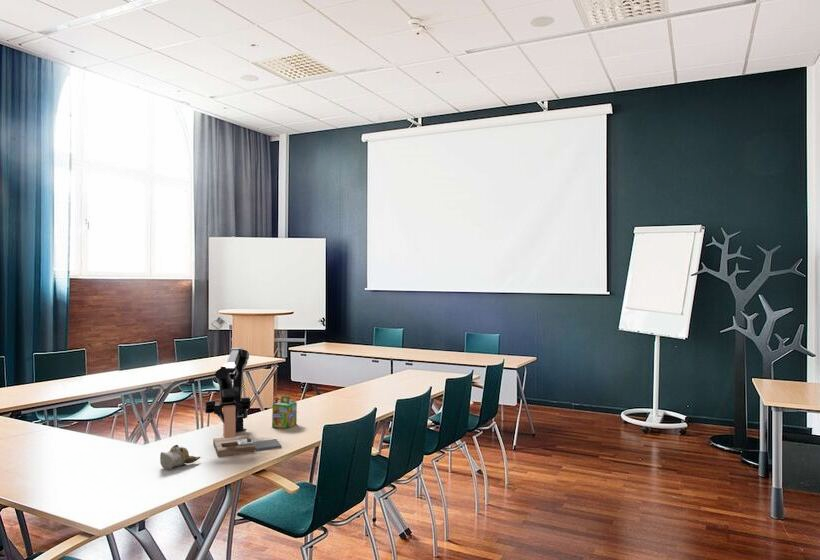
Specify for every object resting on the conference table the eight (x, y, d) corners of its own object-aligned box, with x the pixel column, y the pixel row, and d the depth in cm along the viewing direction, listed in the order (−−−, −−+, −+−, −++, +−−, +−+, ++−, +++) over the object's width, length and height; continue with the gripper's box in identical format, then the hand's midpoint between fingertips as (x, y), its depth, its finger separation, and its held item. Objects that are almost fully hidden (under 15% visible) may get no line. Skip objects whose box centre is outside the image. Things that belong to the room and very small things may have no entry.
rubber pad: (251, 444, 257) (251, 442, 257) (276, 441, 261) (276, 439, 261) (255, 450, 247) (255, 448, 247) (281, 447, 251) (281, 445, 251)
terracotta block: (223, 435, 249) (223, 405, 249) (234, 434, 251) (234, 404, 251) (224, 438, 245) (224, 408, 245) (235, 437, 247) (235, 406, 246)
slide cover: (236, 441, 252) (236, 437, 252) (250, 439, 255) (250, 436, 255) (238, 445, 246) (238, 442, 246) (253, 444, 248) (253, 440, 248)
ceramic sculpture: (152, 446, 224) (184, 439, 237) (151, 468, 224) (183, 460, 237) (170, 450, 219) (202, 443, 232) (169, 473, 219) (201, 464, 232)
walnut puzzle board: (213, 444, 257) (213, 438, 257) (247, 440, 263) (247, 434, 263) (217, 456, 239) (217, 450, 239) (254, 452, 245) (254, 446, 245)
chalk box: (271, 427, 285) (271, 397, 285) (281, 423, 294) (280, 394, 294) (288, 429, 283) (288, 398, 283) (297, 424, 291) (297, 395, 291)
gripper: (205, 382, 247) (207, 413, 237) (249, 379, 255) (254, 409, 245) (204, 397, 255) (206, 428, 245) (247, 393, 262) (251, 423, 252)
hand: (229, 421), depth 246 cm, fingers closed on terracotta block, 4 cm apart
